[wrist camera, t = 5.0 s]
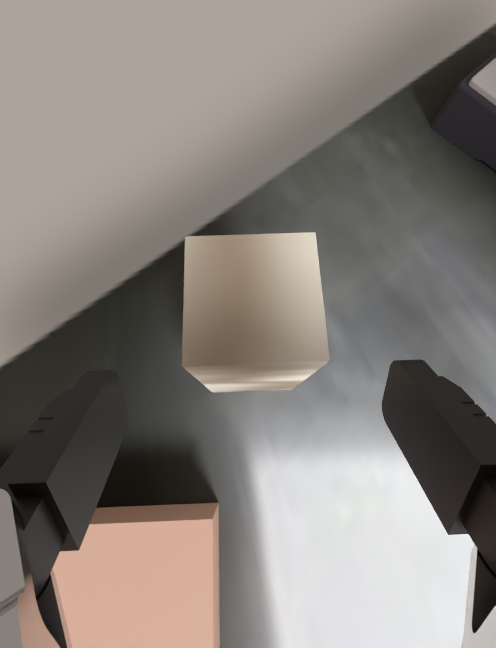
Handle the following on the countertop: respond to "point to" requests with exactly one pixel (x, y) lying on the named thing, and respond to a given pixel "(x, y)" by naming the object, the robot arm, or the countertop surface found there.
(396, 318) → the countertop surface
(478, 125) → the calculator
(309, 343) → the ash block
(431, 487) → the robot arm
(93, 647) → the plinth
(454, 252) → the countertop surface
